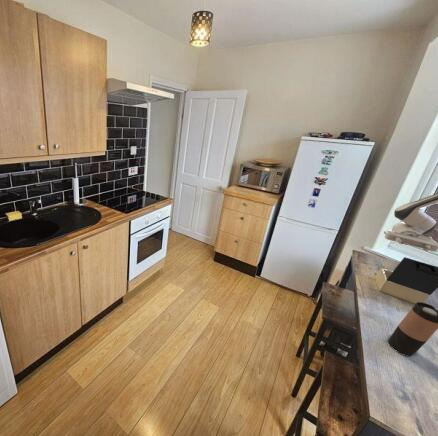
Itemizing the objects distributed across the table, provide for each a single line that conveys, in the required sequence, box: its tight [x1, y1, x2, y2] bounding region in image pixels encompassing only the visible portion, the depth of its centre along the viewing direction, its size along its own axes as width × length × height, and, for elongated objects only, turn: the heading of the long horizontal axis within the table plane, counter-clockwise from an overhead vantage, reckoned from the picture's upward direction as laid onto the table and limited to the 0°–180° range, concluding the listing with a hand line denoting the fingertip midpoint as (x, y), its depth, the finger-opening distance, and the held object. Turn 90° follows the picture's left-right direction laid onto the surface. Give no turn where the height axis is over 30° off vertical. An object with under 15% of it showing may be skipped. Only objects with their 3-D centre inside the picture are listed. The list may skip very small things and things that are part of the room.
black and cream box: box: [387, 256, 438, 296], centre depth 107 cm, size 15×16×5 cm
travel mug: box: [387, 302, 438, 357], centre depth 85 cm, size 8×8×20 cm
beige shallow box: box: [374, 267, 430, 305], centre depth 120 cm, size 15×16×7 cm
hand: (414, 246), depth 121 cm, fingers open, 8 cm apart
